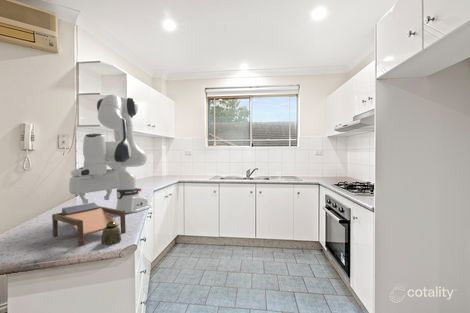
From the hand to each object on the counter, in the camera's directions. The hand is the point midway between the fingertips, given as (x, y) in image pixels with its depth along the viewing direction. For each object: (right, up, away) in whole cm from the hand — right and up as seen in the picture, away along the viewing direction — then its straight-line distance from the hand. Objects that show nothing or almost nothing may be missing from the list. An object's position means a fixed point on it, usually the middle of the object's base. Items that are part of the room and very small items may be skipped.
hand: (96, 201), depth 110 cm
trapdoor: (-6, -9, +4) cm, 12 cm away
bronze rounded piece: (+10, -7, -7) cm, 14 cm away
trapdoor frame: (-5, -16, +4) cm, 17 cm away
